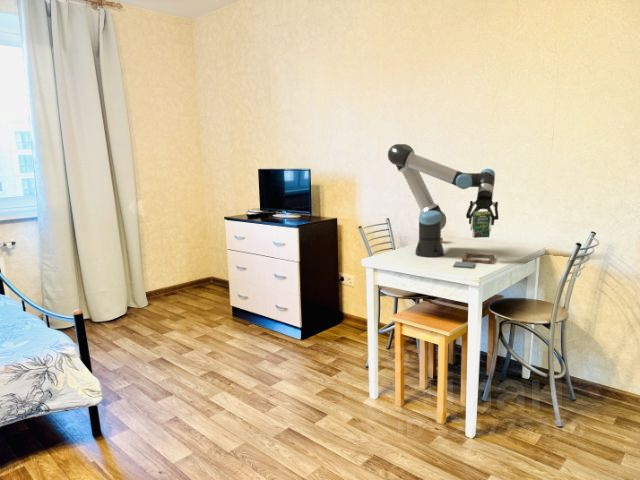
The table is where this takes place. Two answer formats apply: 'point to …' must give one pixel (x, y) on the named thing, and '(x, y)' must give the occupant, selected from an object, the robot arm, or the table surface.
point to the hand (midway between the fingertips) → (480, 229)
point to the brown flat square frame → (477, 259)
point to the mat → (464, 264)
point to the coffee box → (481, 224)
